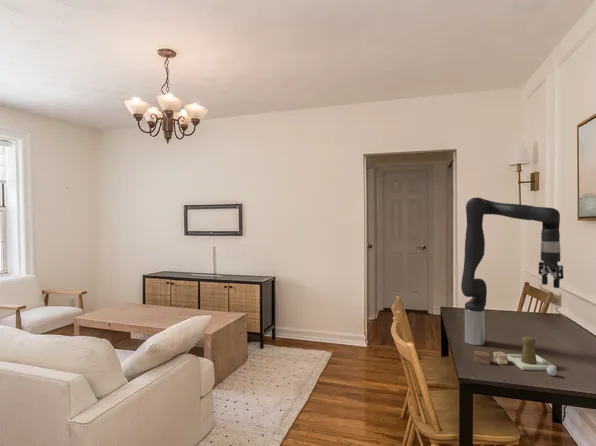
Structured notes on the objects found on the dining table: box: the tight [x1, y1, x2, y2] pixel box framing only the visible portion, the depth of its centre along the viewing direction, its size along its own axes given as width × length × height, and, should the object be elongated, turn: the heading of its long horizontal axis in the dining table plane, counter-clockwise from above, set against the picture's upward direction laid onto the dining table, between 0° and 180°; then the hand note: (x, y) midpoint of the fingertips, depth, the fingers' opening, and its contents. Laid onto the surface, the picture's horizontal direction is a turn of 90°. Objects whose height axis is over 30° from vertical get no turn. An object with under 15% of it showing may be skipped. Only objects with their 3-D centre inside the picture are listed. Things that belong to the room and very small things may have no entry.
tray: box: [507, 353, 557, 371], centre depth 164 cm, size 14×14×2 cm
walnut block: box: [473, 350, 490, 365], centre depth 167 cm, size 4×6×4 cm, turn 65°
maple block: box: [493, 351, 509, 365], centre depth 167 cm, size 4×4×4 cm
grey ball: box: [546, 367, 558, 377], centre depth 152 cm, size 4×4×4 cm
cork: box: [521, 336, 537, 365], centre depth 165 cm, size 6×6×11 cm
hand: (550, 286), depth 171 cm, fingers open, 8 cm apart
